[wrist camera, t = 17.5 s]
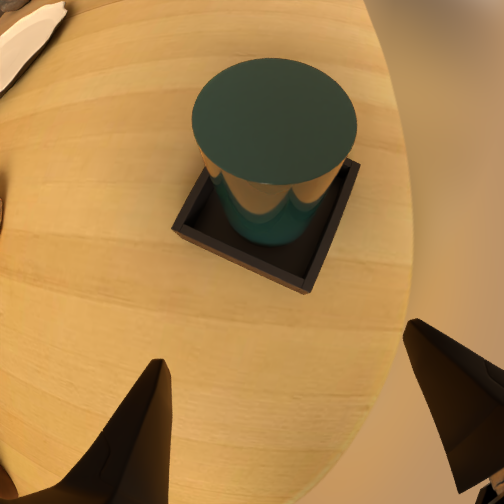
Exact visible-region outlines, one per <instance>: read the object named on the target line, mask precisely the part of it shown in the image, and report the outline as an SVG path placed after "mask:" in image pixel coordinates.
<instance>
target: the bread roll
mask: <svg viewBox="0 0 504 504" xmlns="http://www.w3.org/2000/svg"><path fill="white" fill-rule="evenodd" d="M1 219H2V201H1V198H0V224H1Z"/></svg>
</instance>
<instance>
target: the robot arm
mask: <svg viewBox="0 0 504 504" xmlns="http://www.w3.org/2000/svg"><path fill="white" fill-rule="evenodd" d="M403 341H404V345H405V347H406V350H407V353H408V356H409V359H410V362H411V365H412V368H413V371H414V374H415V376H416V378H417V380H418V383H419V385H420V388H421V390H422V392H423V395H424V397H425V400H426V402H427V404H428V407H429V409H430V412H431V414H432V417H433V419H434V422H435V424H436V427H437V430H438V432H439V435H440V438H441V440H442V444H443V446H444V449H445V452H446V454H447V458H448V461H449V464H450V467H451V471H452V473H453V477H454V480H455V484H456V487H457V491H458V493H459V494H461V493H463V492H464V491H466V490H468V489H470V488H472V487H473V486H475V485H477V484H478V483H480V482H482V481H484V480H485V479H487V478H489V480H490V483H488V484H487V485H486V486H484V487H483V488H482V489H480V492H479V494H478V497H477V500H476V503H475V504H504V370H502V369H501V368H499V367H497V366H495V365H494V364H492V363H491V362H489V361H487V360H485V359H484V358H483V357H481V356H479V355H478V354H476V353H474V352H473V351H471V350H470V349H468V348H466V347H465V346H463V345H462V344H460V343H458V342H457V341H455V340H453V339H452V338H450V337H448V336H447V335H445V334H443V333H442V332H440V331H439V330H437V329H435V328H434V327H432V326H430V325H429V324H427V323H425V322H423V321H422V320H420V319H418V318H416V319H412V320H409V321H408V323H407V325H406V328H405V331H404V334H403ZM171 430H172V389H171V374H170V371H169V369H168V367H167V364H166V362H165V360H164V359H152V360H151V361H150V363H149V364H148V366H147V367H146V368H145V370H144V371H143V373H142V374H141V376H140V377H139V378H138V380H137V381H136V383H135V384H134V385H133V387H132V388H131V390H130V391H129V393H128V394H127V395H126V397H125V398H124V400H123V401H122V403H121V404H120V405H119V407H118V408H117V410H116V411H115V413H114V414H113V416H112V417H111V418H110V420H109V421H108V423H107V424H106V426H105V427H104V429H103V431H101V433H100V434H99V436H98V437H97V439H96V440H95V441H94V443H93V444H92V445H91V447H90V448H89V449H88V451H87V452H86V453H85V454H84V455H83V457H82V458H81V459H80V460H79V461H78V462H77V464H76V465H75V466H74V467H73V468H72V469H71V470H70V472H69V473H68V474H67V475H66V476H65V477H64V478H63V479H62V480H61V481H60V482H59V483H57V484H56V485H54V486H52V487H50V488H47V489H44V490H41V491H38V492H35V493H32V494H29V495H26V496H23V497H19V498H15V499H3V498H1V497H0V504H168V489H169V463H170V445H171Z"/></svg>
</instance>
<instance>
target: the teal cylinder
mask: <svg viewBox="0 0 504 504" xmlns="http://www.w3.org/2000/svg"><path fill="white" fill-rule="evenodd" d="M192 129H193V133H194V137H195V139H196V142H197V145H198V147H199V150H200V152H201V155H202V158H203V160H204V163H205V165H206V168H207V170H208V173H209V176H210V178H211V181H212V183H213V186H214V188H215V191H216V193H217V196H218V198H219V201H220V204H221V206H222V209H223V211H224V214H225V216H226V219H227V221H228V223H229V225H230V227H231V228H232V230H233V231H234V232H235V233H236V234H237V235H238V236H239V237H240V238H241V239H243V240H244V241H246V242H248V243H250V244H252V245H255V246H259V247H264V248H275V247H281V246H285V245H287V244H290V243H292V242H293V241H295V240H297V239H298V238H299V237H300V236H301V235H302V234H303V233H304V232H305V231H306V230H307V228H308V227H309V225H310V223H311V222H312V220H313V218H314V216H315V214H316V213H317V211H318V209H319V207H320V206H321V204H322V202H323V200H324V198H325V197H326V195H327V193H328V191H329V189H330V188H331V186H332V184H333V182H334V180H335V178H336V177H337V175H338V173H339V171H340V169H341V167H342V166H343V164H344V162H345V160H346V158H347V156H348V154H349V153H350V151H351V149H352V146H353V144H354V142H355V138H356V133H357V118H356V114H355V110H354V107H353V105H352V102H351V101H350V99H349V97H348V95H347V94H346V93H345V91H344V90H343V89H342V88H341V87H340V86H339V84H338V83H337V82H336V81H334V80H333V79H332V78H331V77H329V76H328V75H326V74H325V73H323V72H322V71H320V70H318V69H316V68H314V67H312V66H309V65H307V64H304V63H301V62H297V61H293V60H288V59H280V58H262V59H254V60H249V61H245V62H242V63H238V64H236V65H233V66H231V67H229V68H227V69H225V70H223V71H222V72H220V73H219V74H217V75H216V76H215V77H213V78H212V79H211V80H210V81H209V82H208V83H207V84H206V85H205V86H204V87H203V89H202V90H201V92H200V93H199V95H198V97H197V99H196V101H195V104H194V107H193V111H192Z"/></svg>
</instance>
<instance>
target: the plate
mask: <svg viewBox="0 0 504 504" xmlns="http://www.w3.org/2000/svg"><path fill="white" fill-rule="evenodd" d="M65 3H66V2H64V1H62V2H59V3H55V4H47V5H45V6H42V7H41V8H39V9H37V10H36V11H34V12H33V13H31V14H29V15H27V16H26V17H24V18H22V19H20V20H19V21H18V22H16V23H15V24H14V25H13V26H12V27H10V28H9V29H8V30H7V31H6V32H5V33H4V34H3V35H1V36H0V98H1V97H2V96H3V95H4V94H5V93H6V92H7V90H8V89H9V88H10V87H11V86H12V85H13V84H14V83H15V82H16V81H17V80H18V79H19V77H20V76H21V75H22V74H23V73H24V72H25V71H26V70H27V69H28V67H29V66H30V65H31V64H32V62H33V61H34V60H35V59H36V58H37V56H38V55H39V54H40V53H41V51H42V50H43V49H44V47H45V46H46V44H47V43H48V42H49V40H50V39H51V37H52V35H53V33H54V32H55V30H56V29H57V27H58V26H59V25H60V23H61V22H62V20H63V19H64V18H65V16H66V14H67V10H66V9H65V8H64V7H65Z"/></svg>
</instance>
